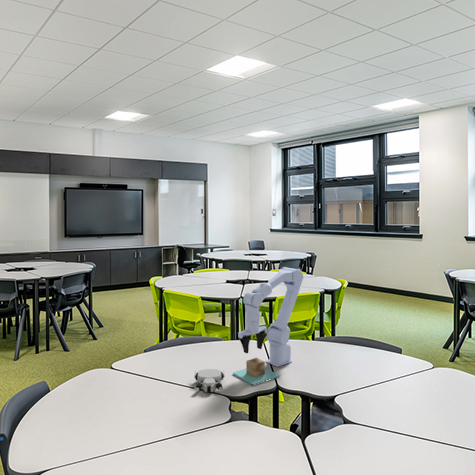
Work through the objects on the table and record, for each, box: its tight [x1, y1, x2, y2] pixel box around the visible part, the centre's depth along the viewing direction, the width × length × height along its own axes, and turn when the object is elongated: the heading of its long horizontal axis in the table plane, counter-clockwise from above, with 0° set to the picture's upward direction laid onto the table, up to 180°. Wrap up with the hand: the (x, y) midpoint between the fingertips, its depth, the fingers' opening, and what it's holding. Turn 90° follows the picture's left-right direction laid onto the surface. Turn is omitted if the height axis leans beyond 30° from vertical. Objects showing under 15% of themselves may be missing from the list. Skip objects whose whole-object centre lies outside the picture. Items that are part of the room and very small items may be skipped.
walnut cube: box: [245, 357, 266, 377], centre depth 177 cm, size 6×6×6 cm
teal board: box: [232, 367, 280, 386], centre depth 177 cm, size 14×14×1 cm
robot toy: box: [194, 368, 226, 393], centre depth 167 cm, size 12×4×15 cm
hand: (252, 350), depth 180 cm, fingers open, 7 cm apart
